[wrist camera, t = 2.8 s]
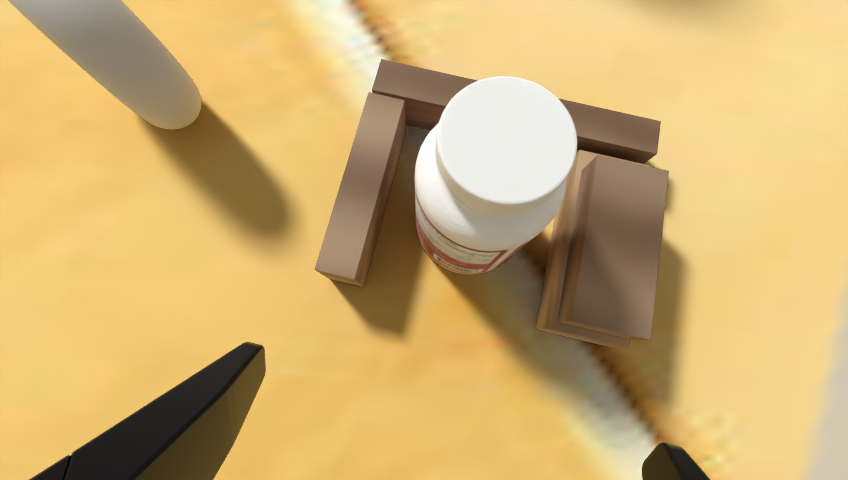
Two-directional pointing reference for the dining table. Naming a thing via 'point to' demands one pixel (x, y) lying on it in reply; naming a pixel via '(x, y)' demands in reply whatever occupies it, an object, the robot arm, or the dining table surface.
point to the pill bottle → (492, 173)
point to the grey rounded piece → (119, 56)
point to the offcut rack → (574, 221)
